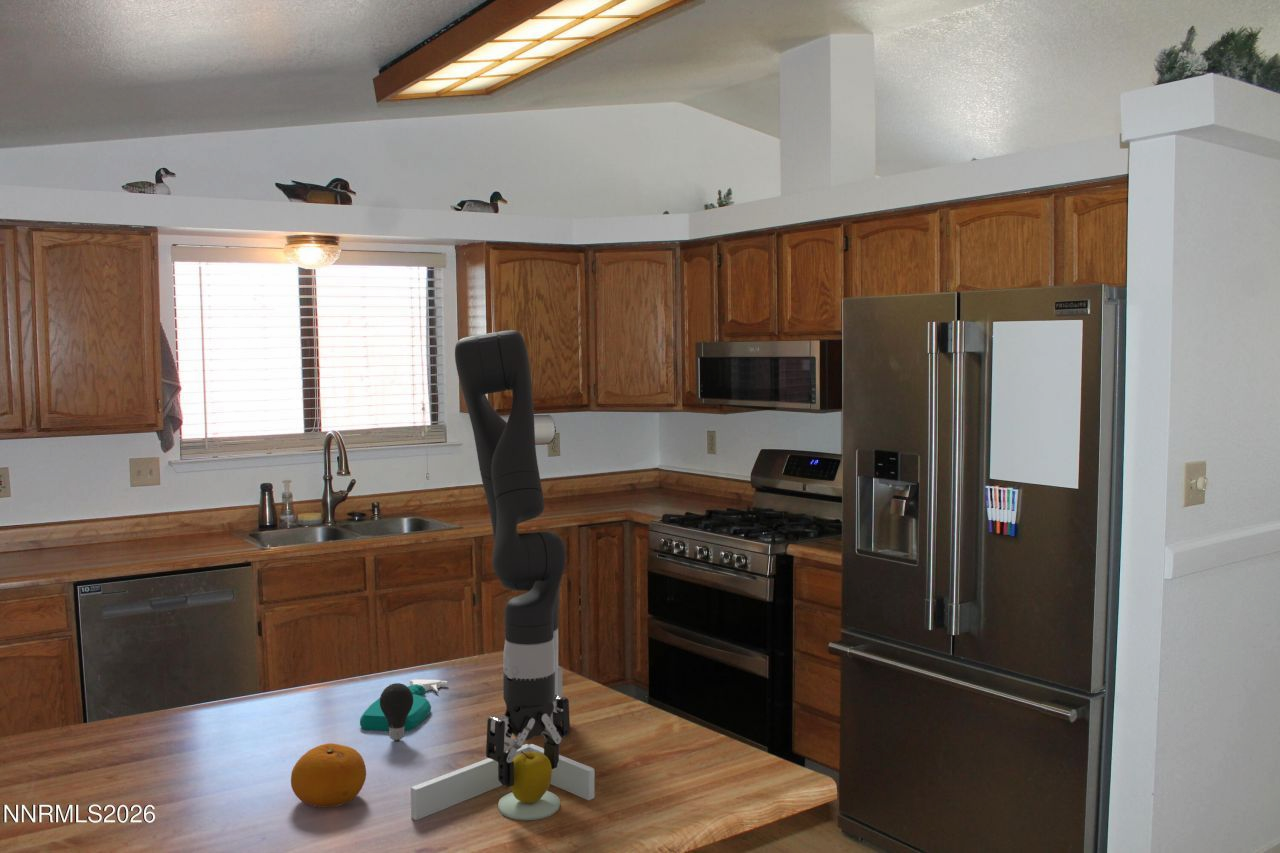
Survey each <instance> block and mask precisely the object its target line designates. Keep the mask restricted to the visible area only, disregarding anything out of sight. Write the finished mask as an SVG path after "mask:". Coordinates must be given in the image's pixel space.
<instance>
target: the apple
mask: <svg viewBox="0 0 1280 853" xmlns="http://www.w3.org/2000/svg"><path fill="white" fill-rule="evenodd" d="M521 753H522V754H519V755H517V756H516V757H515V758H514V759H513V760H512V761H513V762H514V785H513V786H511V787H509V788H510V790H511V791H512V792H513V795H514V797H515V798H516V799H517V800H519V801H521V802H523V803H534V802H537V801H538V800H539V799H540V798H541V797H542V796H543V795H544V794H545V792H546V791H548V789H549V788H550V785H551V784H550V781H551V774H552V768H551V763H550V760H549V759H548V758H547V757H546V756H545V755H544V754H542V753H538V752H526V753H523V752H522V751H521Z"/></svg>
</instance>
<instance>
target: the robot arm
mask: <svg viewBox="0 0 1280 853" xmlns="http://www.w3.org/2000/svg"><path fill="white" fill-rule="evenodd" d="M454 357H455V358H454V359H455V360H454V361H455V365H456V366H455V367H456V371H457V376H458V379H459V383H460V387H461V391H462V394H463V397H464V401H465V405H466V409H467V412H468V415H469V420H470V423H471V427H472V432H473V438H474V443H475V449H476V454H477V460H478V467H479V472H480V477H481V482H482V486H483V490H484V494H485V498H486V502H487V506H488V510H489V517H490V521H491V526H492V535H493V542H494V543H493V550H492V558H491V559H492V560H491V561H492V562H491V564H492V568H493V571H494V573H495V575H496V576H497V577H498V579H499V581H500V583H501V585H502V586H503V588H505V589H507V590H510V591H511V590H512V591H523V592H525V593H523V594H520V595H518V596H515V597H513V598H511V599H509V600H508V602H506V604H505V608H504V615H505V616H504V621H505V622H504V624H505V625H504V627H505V630H504V632H505V634H504V635H505V636H504V647H503V654H502V656H503V658H502V659H503V670H502V671H503V672H502V673H503V678H502V679H503V681H502V682H503V687H502V688H503V689H502V690H503V694H502V695H503V700H504V703H505V707H506V710H505V712H504V715H503V716H498V717H496V716H489V717H488V719H487V723H486V744H485V745H486V747H485V748H486V749H485V757H486V759H488V758H490V759H493V760H495V761H497V762H498V779H499V782H501V784H502V786H504V787H507V788H510V787H511V786H513V785H514V762H513V761H512V760H513V758H514V756H515V754H516V752H517V750H518V749H520V748H521V747H522V745H524V744H525V741H528V740H531V739H532V738H533V737H538V736H542V737H543V738H544V739H545V740H546V741H544V742H543V748H544V755H545V756H546V757H547V758H548V759H549V760H550V763H551V768H552V769H554V768H557V763H558V761H559V755H560V743H561V742H562V739H563V738H564V737H568V736H569V735H570V733H571V725H570V724H571V723H570V704H569V703H570V700H569V698H567V697H565V696H563V668H562V666H559V615H560V612H559V611H560V589H561V588H560V587H561V582H562V579H563V575H564V573H565V569H566V568H565V567H566V563H567V548H566V546H565V543H564V540H563V539H562V538H561V537H560V535H558V534H557V533H556V532H554V531H546V530H545V531H536V532H524V533H523V532H522V533H521V532H520V533H518V531H517V530H518V528H517V527H518V524H521V523H524V522H527V521H530V520H533V519H536V518H537V517H539V516H541V515H542V514H543V512H544V510H545V500H544V494H543V486H542V482H541V476H540V470H539V465H538V458H537V457H538V456H537V450H536V449H537V448H536V435H535V434H536V433H535V432H536V431H535V428H536V427H535V412H534V410H535V409H534V398H533V385H532V384H533V383H532V375H531V374H532V373H531V366H530V360H529V354H528V350H527V345H526V342H525V340H524V337H523V335H522V334H521V333H520V332H519V331H518V330H514V329H510V330H501V331H494V332H488V333H483V334H482V333H481V334H478V335H476V334H475V335H471V336H466V337H463V338H461V339H459V340H457V342H456V344H455V347H454ZM505 391H512V402H511V403H512V404H511V410H510V413H509V417H508V418H507V419H508V420H507V421H506V420H505V419H504V418H502V417H501V416H500V414H498V413H497V411H496V410H495V409H494V406H492V404H491V402H490V401H489V399H488V397H487V395H488V394H489V395H490V394H495V393H501V392H505ZM512 735H513V736H514V737H515V739H514V738H512ZM506 751H508V752H506Z"/></svg>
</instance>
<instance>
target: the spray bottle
mask: <svg viewBox="0 0 1280 853" xmlns="http://www.w3.org/2000/svg"><path fill="white" fill-rule="evenodd" d="M407 687H408V688H409V689H410V690H411V692H412V694H413V705H412V708H411V710H410V712H409V714H408V716H407V718H406V723H405V726H404V733H405V732H410V731H411V730H413V729H415V728H416V727H417V726H419V724H421V723H422V722H423V721H424V720H425V719H426V718H427V716H428V715H429V714H430V713H431V711H432V710H431V709H432V705H431V702H430V701H429V700H428V699H427V698H426V697H425V696H423V695H425V692H427V691H431V690H433V691H435V692H436V693H438V692H439V690H438V689H439V688H441V687H448V681H447V680H440V679H409V686H407ZM359 726H360V727H361V729H362V730H364V731H377V732H389V726H388V721H387V719H386V717H385V715H384V713H383V712H382V710H381V707H380V697H378V698H377V699H376V700H375V701H374V702H372V703H371V704H370V705H369V706H368V707H367V709H366V710H365V711H364V712H363V714H361V716H360V718H359Z"/></svg>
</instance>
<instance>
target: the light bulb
mask: <svg viewBox="0 0 1280 853" xmlns="http://www.w3.org/2000/svg"><path fill="white" fill-rule="evenodd" d="M379 698H380V707H381V710H382V712H383V713H384V715H385V717H386V719H387V721H388V726H389V731H388V732H389V738H390V740H392V741H394V743H398V742H399V743H400V741H401V740H402V739H403V738H405V732H404V726H405V723H406V718H407V716H408V714H409V712H410V710H411V708H412V705H413V694H412V692H411V690H410V689H409V688H408V686H407V685H405V684H403V683H399V682H397V683H396V682H394V683H392V684H389V685H388V686H386V687H385V688H384V689H383V690H382V692H381V694H380V696H379Z"/></svg>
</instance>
